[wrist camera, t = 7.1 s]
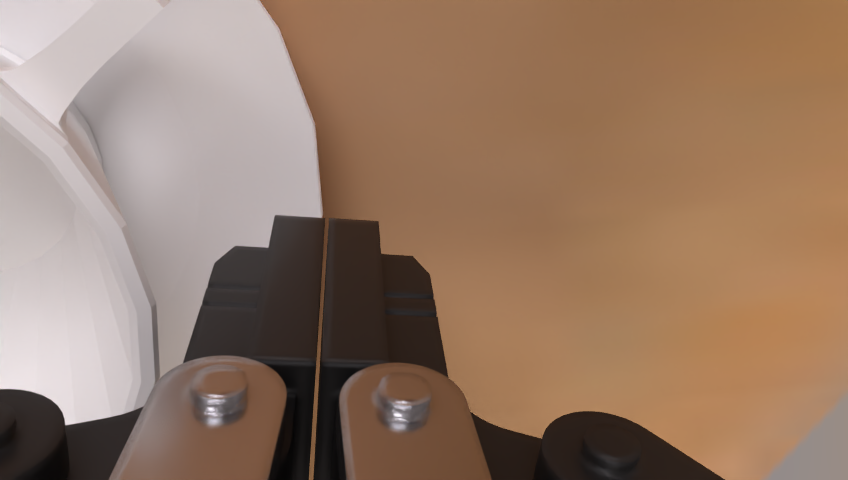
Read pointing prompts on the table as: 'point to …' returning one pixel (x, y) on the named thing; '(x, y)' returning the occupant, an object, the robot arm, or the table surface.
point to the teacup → (134, 182)
